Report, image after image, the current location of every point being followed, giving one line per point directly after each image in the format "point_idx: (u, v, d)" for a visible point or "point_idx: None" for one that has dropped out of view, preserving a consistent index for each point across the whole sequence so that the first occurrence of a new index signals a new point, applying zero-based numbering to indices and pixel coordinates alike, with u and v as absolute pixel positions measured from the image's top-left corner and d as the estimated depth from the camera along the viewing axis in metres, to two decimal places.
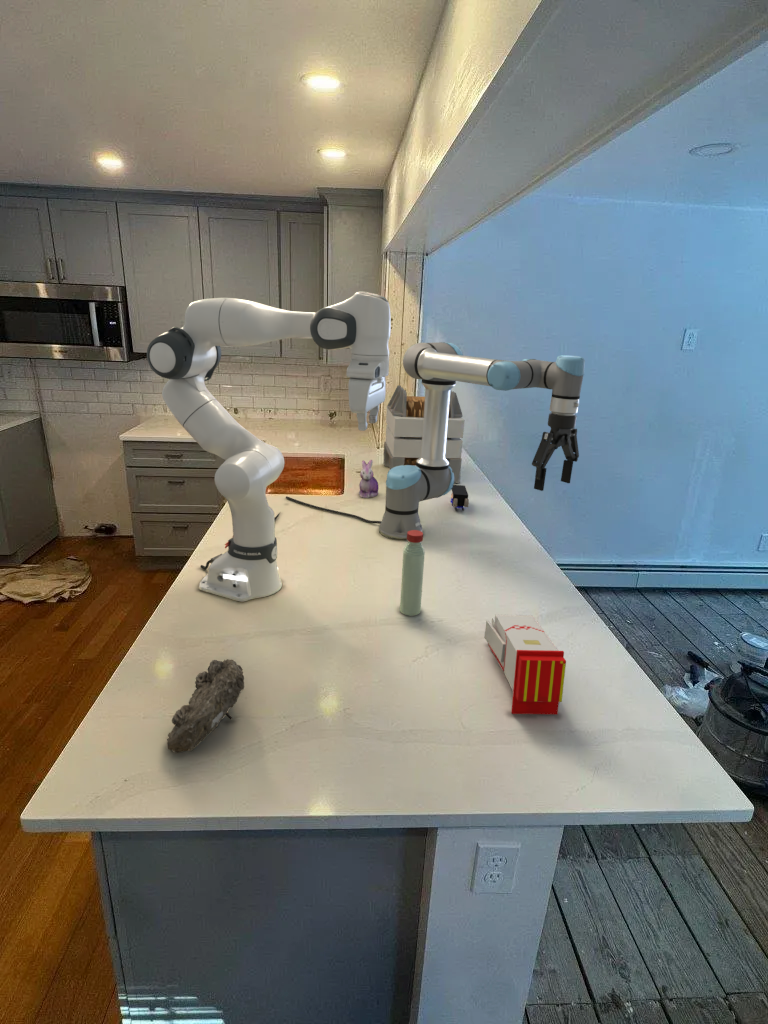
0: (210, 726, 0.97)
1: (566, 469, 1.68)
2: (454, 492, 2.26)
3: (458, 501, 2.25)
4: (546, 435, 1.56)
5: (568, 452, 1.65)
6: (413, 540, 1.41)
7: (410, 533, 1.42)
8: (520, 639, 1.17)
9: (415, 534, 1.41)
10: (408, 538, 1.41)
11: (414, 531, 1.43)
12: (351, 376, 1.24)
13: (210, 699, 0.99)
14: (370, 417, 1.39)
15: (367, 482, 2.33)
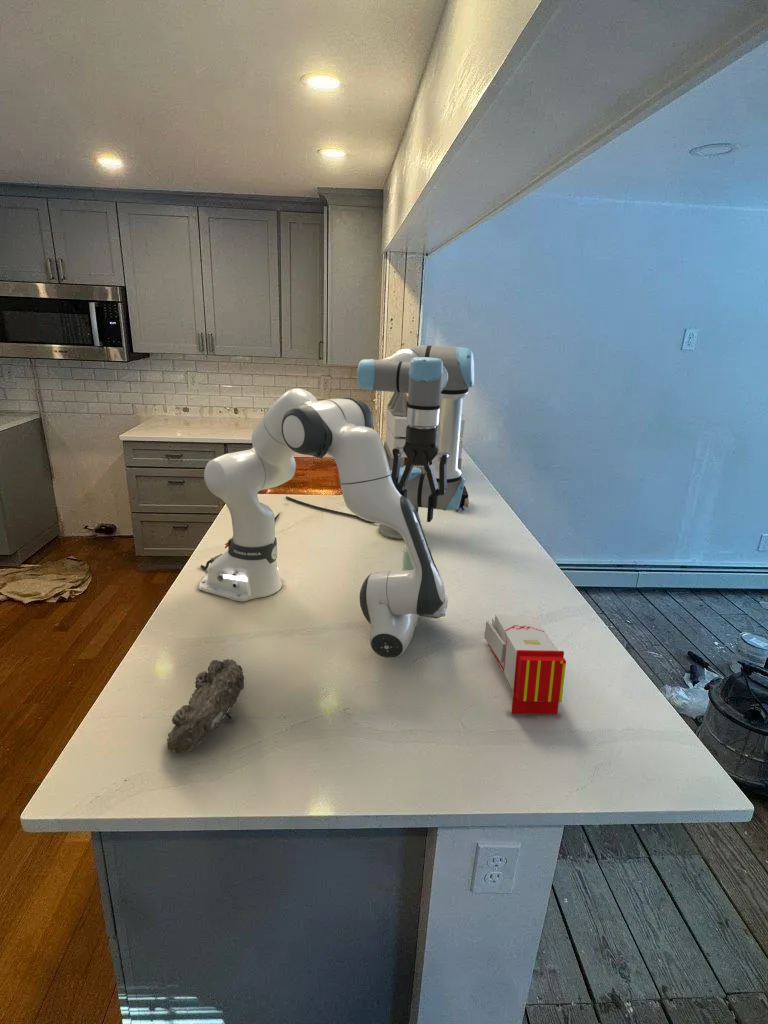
0: (210, 726, 0.97)
1: None
2: None
3: None
4: (447, 458, 1.33)
5: (408, 476, 1.39)
6: None
7: None
8: (520, 639, 1.17)
9: None
10: None
11: None
12: None
13: (210, 699, 0.99)
14: None
15: None
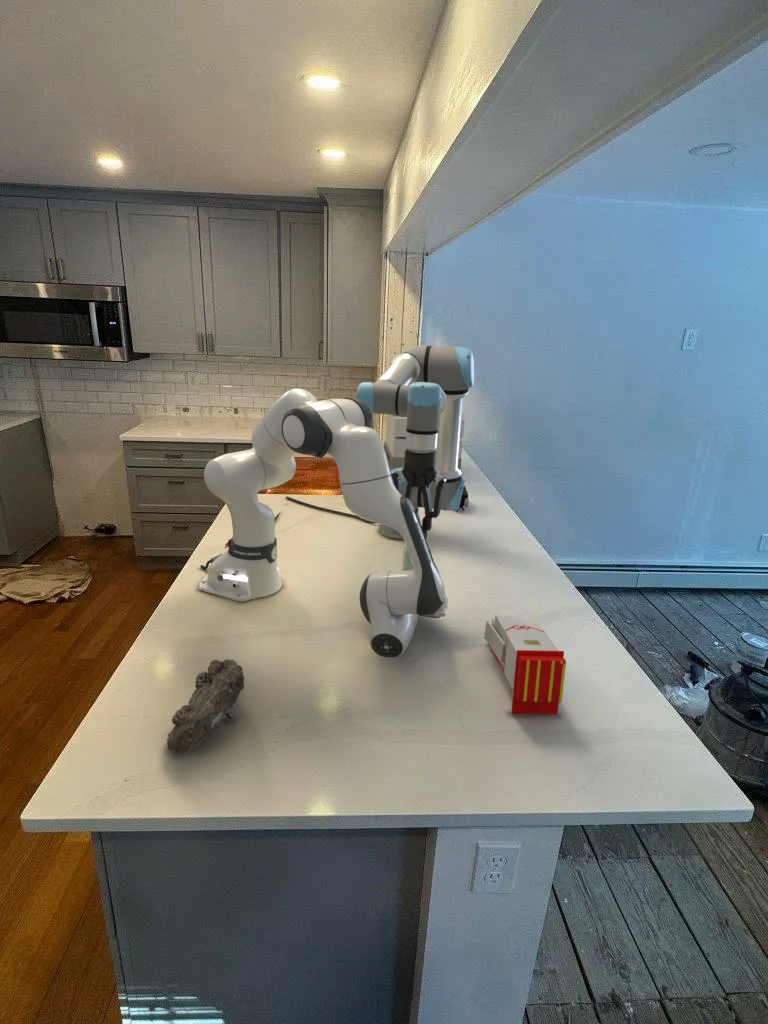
0: (210, 726, 0.97)
1: None
2: None
3: None
4: (444, 482, 1.35)
5: (410, 499, 1.40)
6: None
7: None
8: (520, 639, 1.17)
9: None
10: None
11: None
12: None
13: (210, 699, 0.99)
14: None
15: None
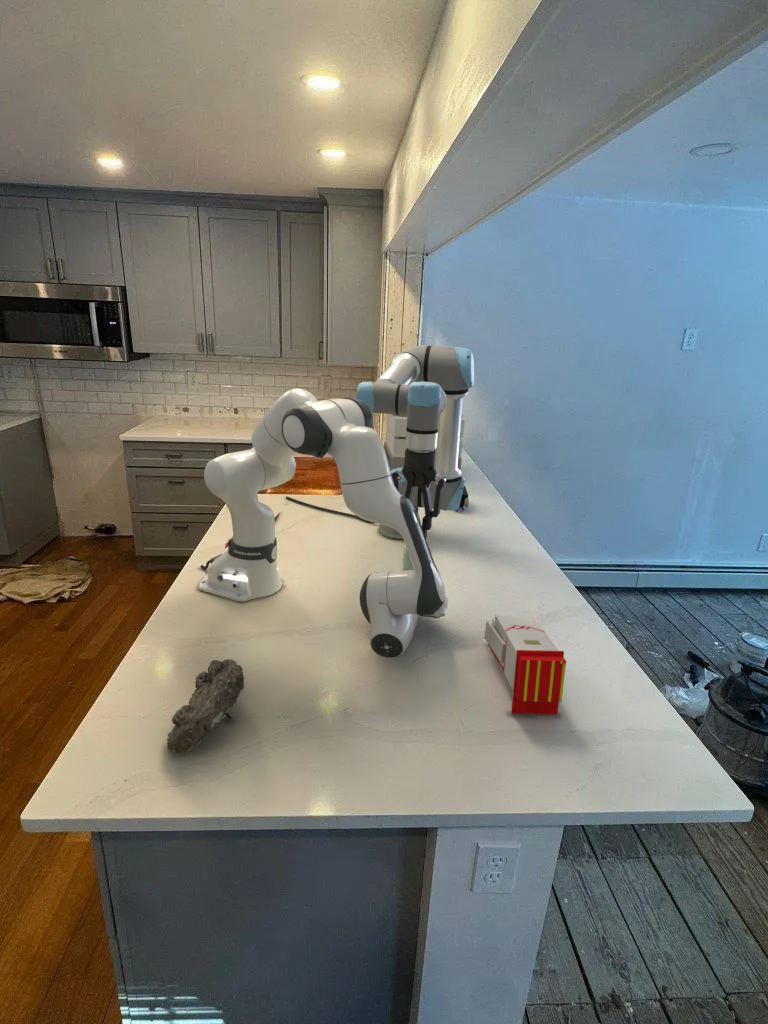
0: (210, 726, 0.97)
1: None
2: None
3: None
4: (444, 482, 1.35)
5: (410, 498, 1.40)
6: None
7: None
8: (520, 639, 1.17)
9: None
10: None
11: None
12: None
13: (210, 699, 0.99)
14: None
15: None
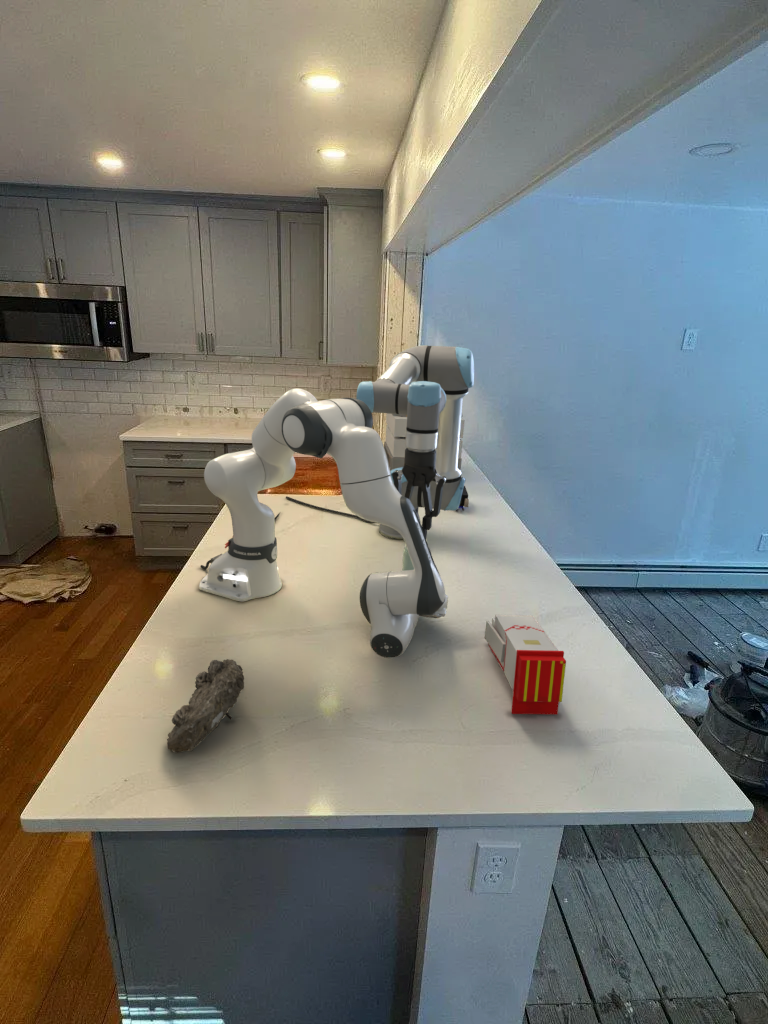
0: (210, 726, 0.97)
1: None
2: None
3: None
4: (444, 481, 1.35)
5: (410, 498, 1.40)
6: None
7: None
8: (520, 639, 1.17)
9: None
10: None
11: None
12: None
13: (210, 699, 0.99)
14: None
15: None
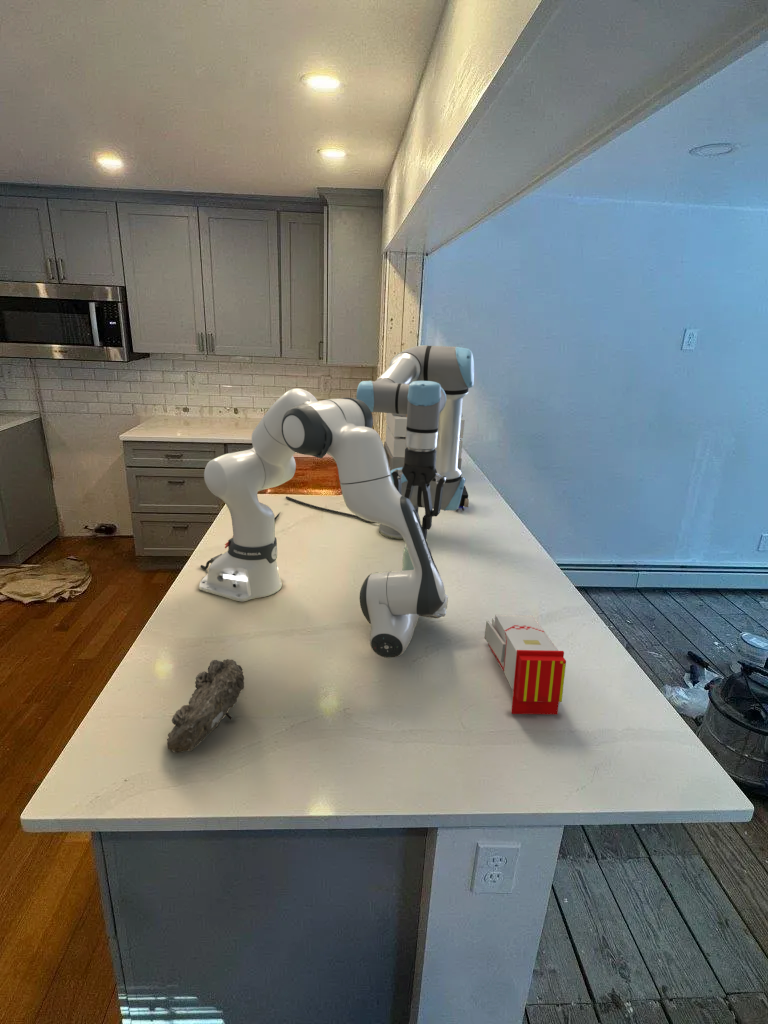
0: (210, 726, 0.97)
1: None
2: None
3: None
4: (445, 481, 1.35)
5: (410, 497, 1.40)
6: None
7: None
8: (520, 639, 1.17)
9: None
10: None
11: None
12: None
13: (210, 699, 0.99)
14: None
15: None
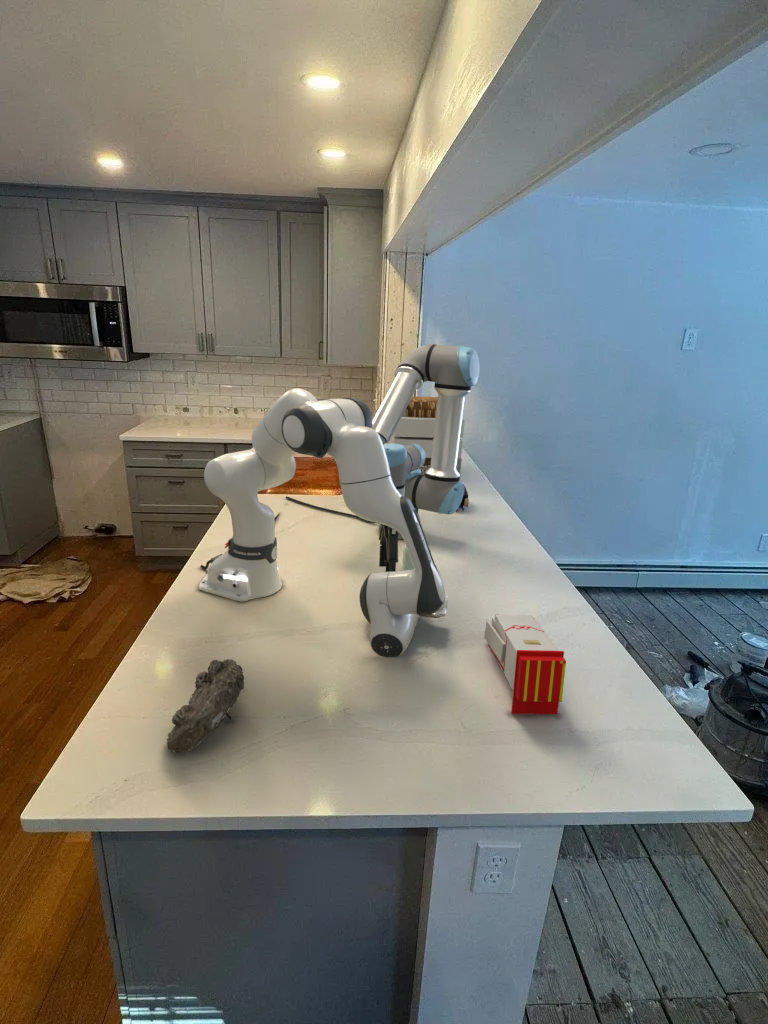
0: (210, 726, 0.97)
1: None
2: None
3: None
4: None
5: None
6: None
7: None
8: (520, 639, 1.17)
9: None
10: None
11: None
12: None
13: (210, 699, 0.99)
14: None
15: None
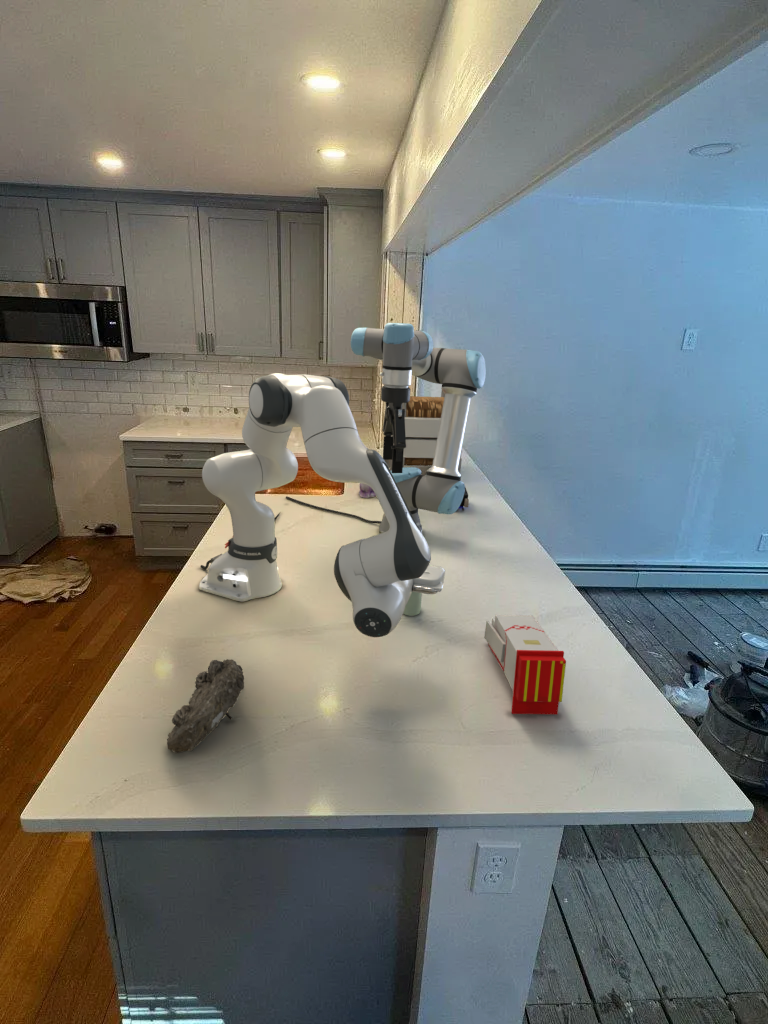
0: (210, 726, 0.97)
1: None
2: None
3: None
4: None
5: None
6: None
7: None
8: (520, 639, 1.17)
9: None
10: None
11: None
12: None
13: (210, 699, 0.99)
14: None
15: None
